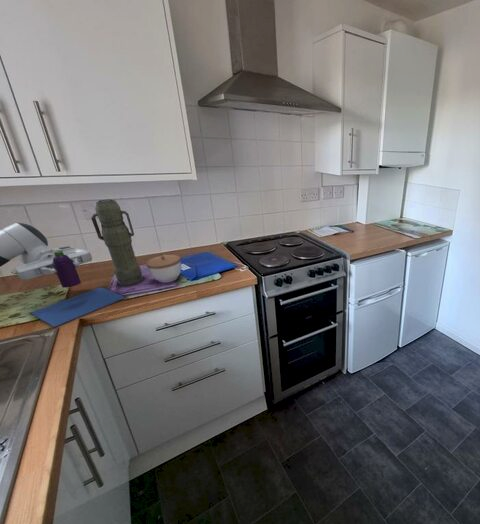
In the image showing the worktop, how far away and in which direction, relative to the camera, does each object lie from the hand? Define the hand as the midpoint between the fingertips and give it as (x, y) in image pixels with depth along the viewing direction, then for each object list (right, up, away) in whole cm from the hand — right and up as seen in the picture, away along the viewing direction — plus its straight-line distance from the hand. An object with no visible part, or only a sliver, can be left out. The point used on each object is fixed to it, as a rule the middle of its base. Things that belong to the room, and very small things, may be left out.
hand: (66, 268), depth 105 cm
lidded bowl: (+20, -6, +27) cm, 34 cm away
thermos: (+5, -6, +24) cm, 26 cm away
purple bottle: (-1, -6, +3) cm, 7 cm away
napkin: (-1, -14, +6) cm, 15 cm away
